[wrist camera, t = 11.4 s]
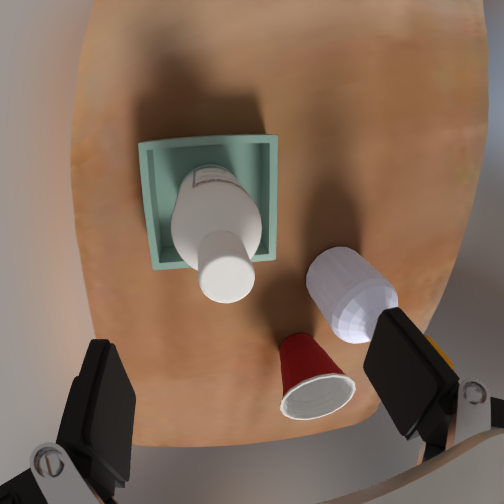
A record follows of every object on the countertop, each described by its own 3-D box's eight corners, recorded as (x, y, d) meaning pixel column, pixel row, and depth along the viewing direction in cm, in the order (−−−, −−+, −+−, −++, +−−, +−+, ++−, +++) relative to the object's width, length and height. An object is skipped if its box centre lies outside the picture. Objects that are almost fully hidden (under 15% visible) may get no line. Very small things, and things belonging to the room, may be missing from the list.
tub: (146, 140, 30) (138, 143, 25) (266, 133, 32) (277, 135, 27) (158, 251, 35) (153, 270, 31) (265, 242, 38) (275, 259, 33)
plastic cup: (249, 345, 44) (266, 405, 33) (310, 308, 43) (342, 363, 33) (282, 377, 49) (301, 431, 38) (334, 346, 48) (364, 396, 37)
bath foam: (210, 233, 35) (229, 351, 17) (166, 195, 32) (132, 285, 14) (252, 192, 34) (318, 274, 16) (209, 150, 31) (226, 184, 13)
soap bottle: (296, 297, 42) (375, 440, 20) (318, 239, 39) (436, 367, 17) (346, 303, 44) (434, 422, 22) (369, 251, 41) (485, 358, 19)
